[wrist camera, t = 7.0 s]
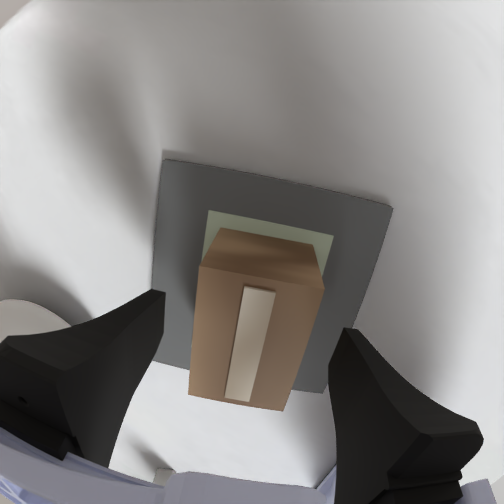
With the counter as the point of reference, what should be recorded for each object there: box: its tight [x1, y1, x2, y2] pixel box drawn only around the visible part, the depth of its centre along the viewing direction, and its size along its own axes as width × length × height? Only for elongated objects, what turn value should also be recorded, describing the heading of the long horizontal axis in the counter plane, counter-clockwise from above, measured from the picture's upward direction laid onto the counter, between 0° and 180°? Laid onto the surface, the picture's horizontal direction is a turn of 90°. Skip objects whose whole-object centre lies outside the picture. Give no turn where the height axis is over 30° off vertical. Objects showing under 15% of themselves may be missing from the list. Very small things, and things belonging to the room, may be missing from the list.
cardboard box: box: [188, 227, 325, 411], centre depth 13 cm, size 4×6×4 cm, turn 170°
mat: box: [152, 159, 393, 394], centre depth 15 cm, size 11×10×1 cm
